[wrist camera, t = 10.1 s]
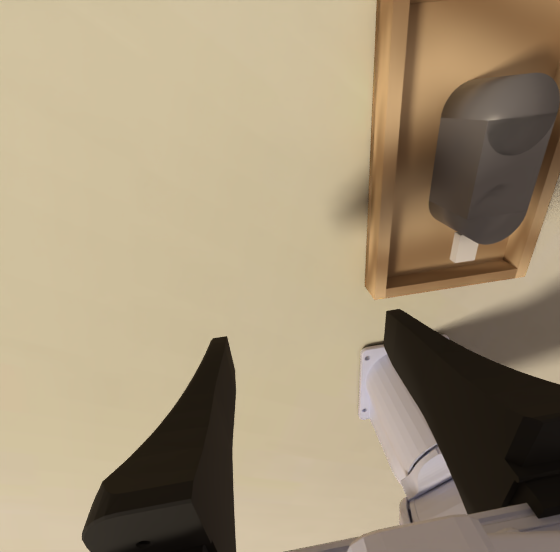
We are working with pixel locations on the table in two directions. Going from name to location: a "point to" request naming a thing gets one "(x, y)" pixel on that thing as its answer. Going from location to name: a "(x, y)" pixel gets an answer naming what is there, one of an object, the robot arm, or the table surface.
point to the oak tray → (425, 127)
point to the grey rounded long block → (490, 157)
